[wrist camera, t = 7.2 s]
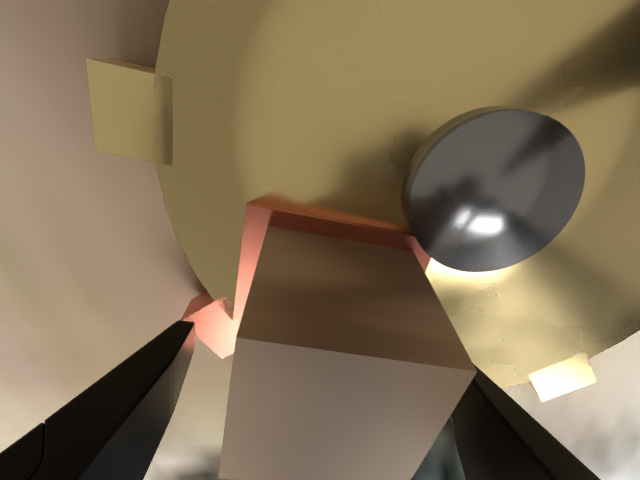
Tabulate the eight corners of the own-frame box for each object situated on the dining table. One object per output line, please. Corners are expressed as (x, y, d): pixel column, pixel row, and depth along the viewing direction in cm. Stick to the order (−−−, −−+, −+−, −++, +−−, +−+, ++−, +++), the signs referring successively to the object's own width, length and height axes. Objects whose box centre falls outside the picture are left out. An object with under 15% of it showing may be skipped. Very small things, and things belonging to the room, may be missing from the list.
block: (413, 251, 10) (477, 371, 6) (372, 355, 12) (401, 495, 8) (267, 225, 10) (235, 337, 6) (250, 338, 12) (218, 478, 8)
